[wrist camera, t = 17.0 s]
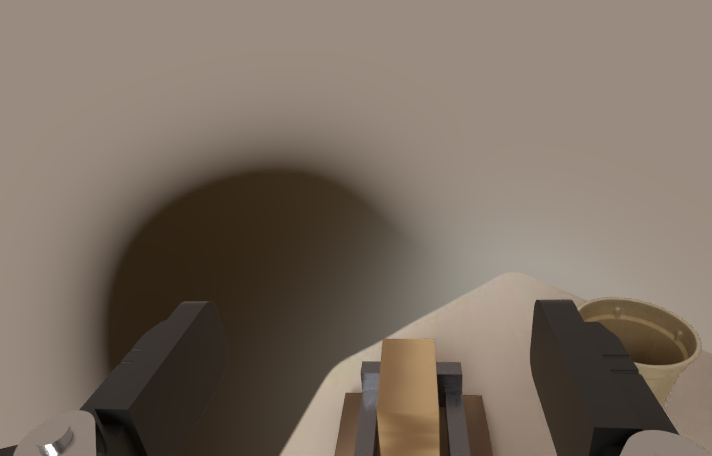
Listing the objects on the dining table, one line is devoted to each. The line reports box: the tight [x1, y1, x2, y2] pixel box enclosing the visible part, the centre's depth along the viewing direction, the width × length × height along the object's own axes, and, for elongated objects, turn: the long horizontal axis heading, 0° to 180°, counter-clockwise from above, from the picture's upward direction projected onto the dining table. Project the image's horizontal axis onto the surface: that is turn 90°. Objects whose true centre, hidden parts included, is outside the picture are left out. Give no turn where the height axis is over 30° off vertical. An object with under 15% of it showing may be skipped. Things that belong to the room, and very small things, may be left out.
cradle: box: [335, 362, 493, 456], centre depth 36 cm, size 13×14×6 cm
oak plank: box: [376, 339, 440, 456], centre depth 33 cm, size 4×7×10 cm, turn 173°
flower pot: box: [577, 297, 701, 407], centre depth 39 cm, size 9×9×9 cm
